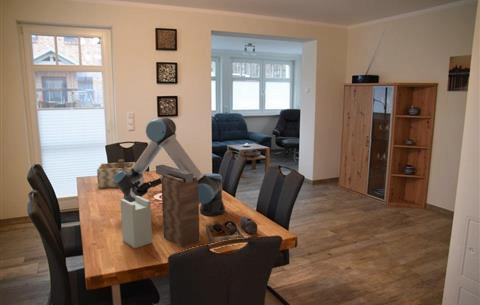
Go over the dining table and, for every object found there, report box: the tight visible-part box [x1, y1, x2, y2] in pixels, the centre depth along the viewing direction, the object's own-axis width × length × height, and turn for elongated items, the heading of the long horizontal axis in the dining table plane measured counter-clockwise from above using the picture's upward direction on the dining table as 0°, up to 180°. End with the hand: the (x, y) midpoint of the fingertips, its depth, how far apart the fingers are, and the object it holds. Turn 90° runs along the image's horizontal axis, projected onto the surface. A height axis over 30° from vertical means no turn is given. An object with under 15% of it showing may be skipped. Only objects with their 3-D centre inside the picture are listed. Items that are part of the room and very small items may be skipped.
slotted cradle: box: [119, 196, 153, 249], centre depth 166 cm, size 12×9×20 cm
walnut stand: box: [161, 174, 201, 248], centre depth 168 cm, size 16×10×32 cm, turn 43°
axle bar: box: [155, 164, 193, 183], centre depth 169 cm, size 26×4×4 cm, turn 43°
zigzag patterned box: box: [96, 161, 136, 189], centre depth 277 cm, size 26×23×14 cm
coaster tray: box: [205, 222, 244, 244], centre depth 175 cm, size 16×17×3 cm
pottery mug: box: [212, 220, 238, 236], centre depth 175 cm, size 12×10×8 cm
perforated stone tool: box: [239, 216, 258, 234], centre depth 181 cm, size 15×5×7 cm, turn 23°
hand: (155, 177), depth 183 cm, fingers open, 13 cm apart
